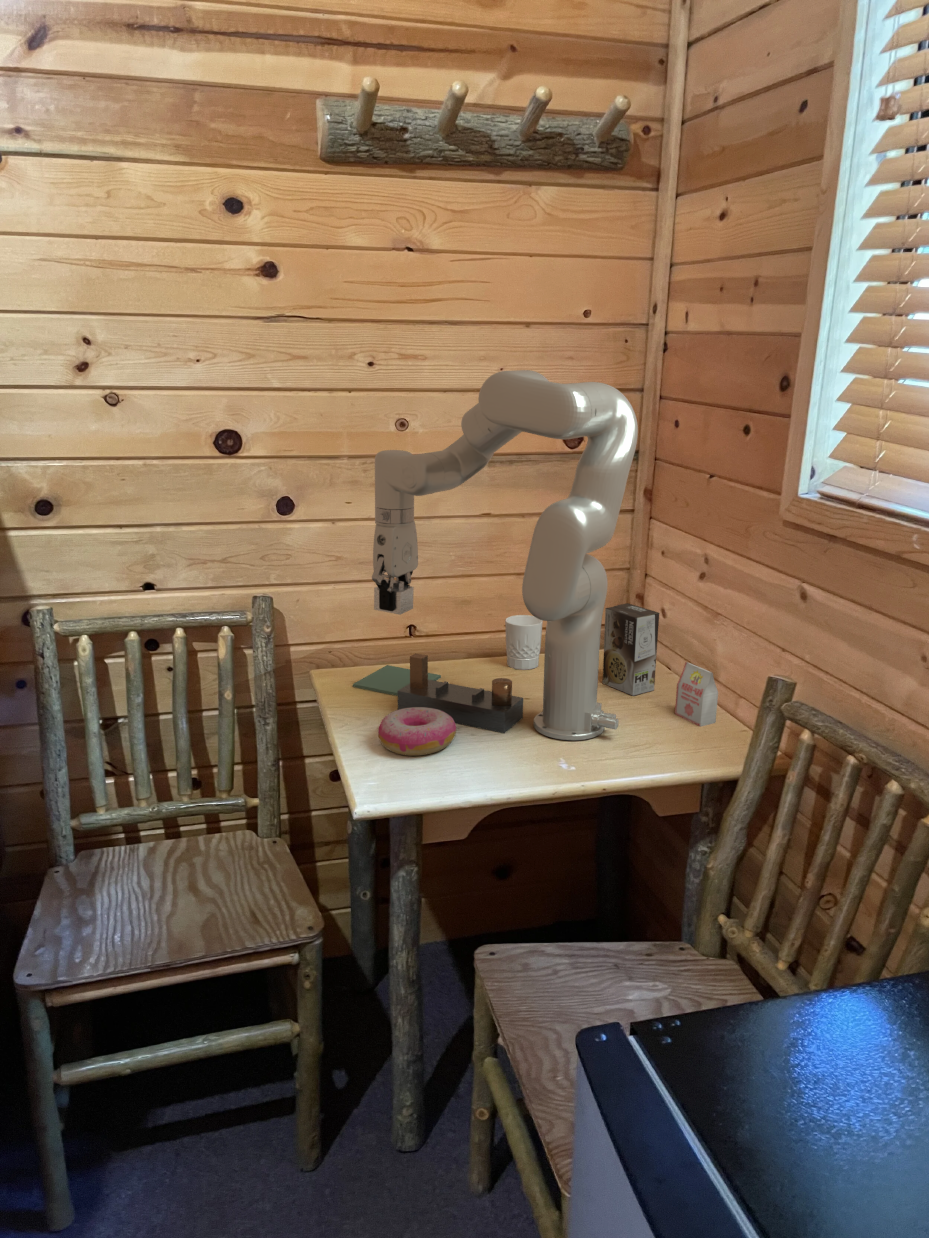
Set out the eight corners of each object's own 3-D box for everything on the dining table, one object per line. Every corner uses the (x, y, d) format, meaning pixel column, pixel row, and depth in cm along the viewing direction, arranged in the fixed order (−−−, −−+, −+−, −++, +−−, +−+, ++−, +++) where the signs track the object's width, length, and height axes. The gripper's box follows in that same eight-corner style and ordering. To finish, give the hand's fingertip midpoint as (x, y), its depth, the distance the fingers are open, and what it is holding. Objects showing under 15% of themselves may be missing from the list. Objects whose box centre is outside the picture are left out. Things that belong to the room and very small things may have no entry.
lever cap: (374, 609, 182) (374, 581, 181) (387, 603, 187) (387, 576, 185) (400, 614, 180) (400, 586, 178) (413, 608, 184) (413, 580, 182)
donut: (446, 725, 167) (446, 699, 165) (465, 756, 154) (465, 728, 153) (372, 732, 163) (371, 706, 162) (385, 764, 151) (384, 736, 150)
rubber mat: (441, 677, 190) (441, 675, 190) (408, 698, 179) (408, 695, 179) (387, 667, 196) (387, 664, 195) (352, 686, 184) (352, 684, 184)
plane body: (397, 710, 173) (397, 660, 170) (419, 697, 179) (418, 648, 177) (504, 733, 163) (505, 680, 160) (522, 717, 170) (524, 666, 167)
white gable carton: (689, 710, 174) (693, 660, 171) (715, 722, 168) (720, 671, 165) (674, 714, 172) (678, 663, 169) (700, 726, 166) (704, 674, 164)
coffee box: (655, 690, 184) (661, 612, 179) (632, 696, 180) (637, 617, 176) (623, 677, 191) (628, 602, 186) (600, 683, 188) (604, 606, 183)
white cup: (529, 673, 193) (531, 627, 190) (497, 666, 197) (498, 621, 194) (547, 663, 199) (549, 618, 196) (516, 656, 203) (517, 612, 200)
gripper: (387, 525, 169) (387, 620, 174) (433, 511, 183) (432, 599, 188) (353, 520, 172) (354, 614, 177) (400, 507, 186) (400, 593, 192)
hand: (394, 605), depth 183 cm, fingers closed on lever cap, 5 cm apart
